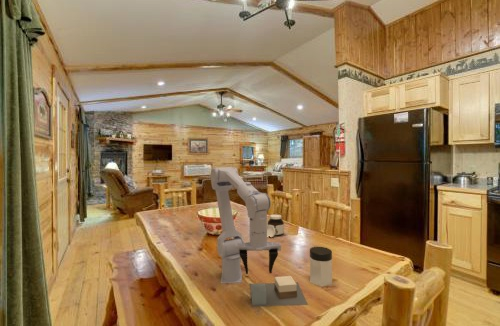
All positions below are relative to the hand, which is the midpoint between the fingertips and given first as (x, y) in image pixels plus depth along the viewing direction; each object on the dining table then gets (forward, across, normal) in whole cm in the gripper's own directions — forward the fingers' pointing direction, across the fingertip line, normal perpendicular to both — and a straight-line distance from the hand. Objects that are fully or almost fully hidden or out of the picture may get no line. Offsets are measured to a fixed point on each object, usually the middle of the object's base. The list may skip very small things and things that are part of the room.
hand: (258, 272), depth 81 cm
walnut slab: (+10, +10, +4) cm, 14 cm away
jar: (+10, +24, +12) cm, 29 cm away
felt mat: (+10, +6, +4) cm, 13 cm away
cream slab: (+7, +10, +4) cm, 13 cm away
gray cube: (+10, 0, 0) cm, 10 cm away
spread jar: (+10, +14, +68) cm, 70 cm away
